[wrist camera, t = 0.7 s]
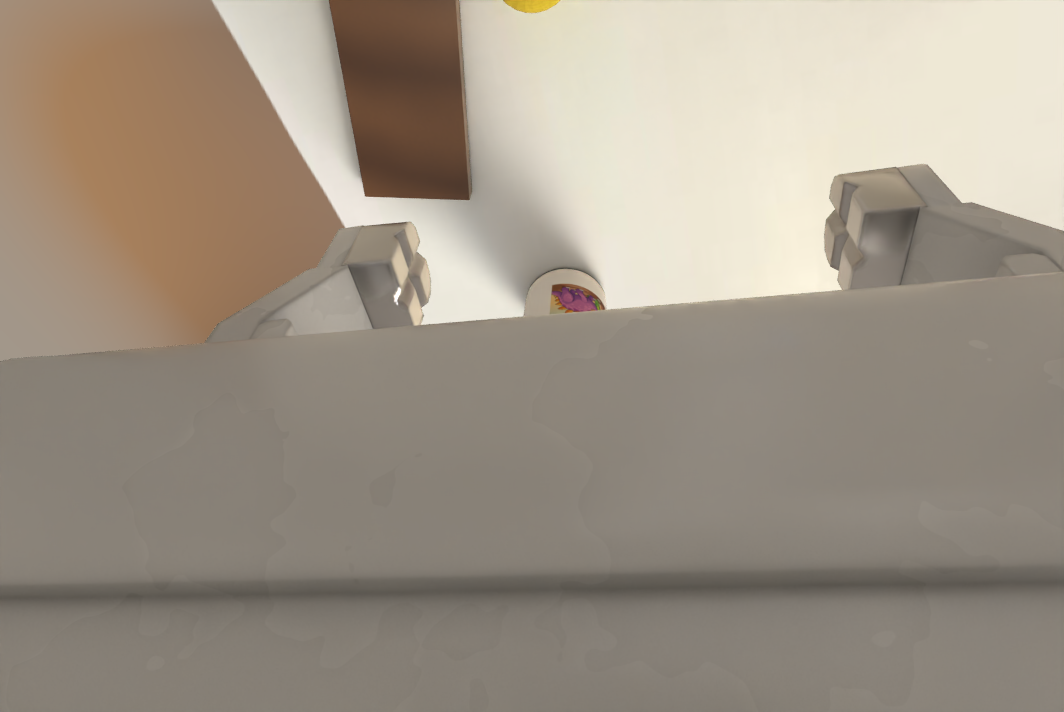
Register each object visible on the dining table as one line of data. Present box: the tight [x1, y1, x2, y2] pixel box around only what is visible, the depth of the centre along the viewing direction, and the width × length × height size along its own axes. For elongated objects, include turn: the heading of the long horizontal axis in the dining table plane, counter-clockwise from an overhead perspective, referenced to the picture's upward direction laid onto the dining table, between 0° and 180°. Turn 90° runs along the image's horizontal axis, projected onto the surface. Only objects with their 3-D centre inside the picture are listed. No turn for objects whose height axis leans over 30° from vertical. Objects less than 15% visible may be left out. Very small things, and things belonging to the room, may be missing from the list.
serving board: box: [329, 0, 472, 200], centre depth 49 cm, size 22×9×2 cm, turn 0°
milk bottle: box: [524, 269, 607, 316], centre depth 55 cm, size 8×8×20 cm
